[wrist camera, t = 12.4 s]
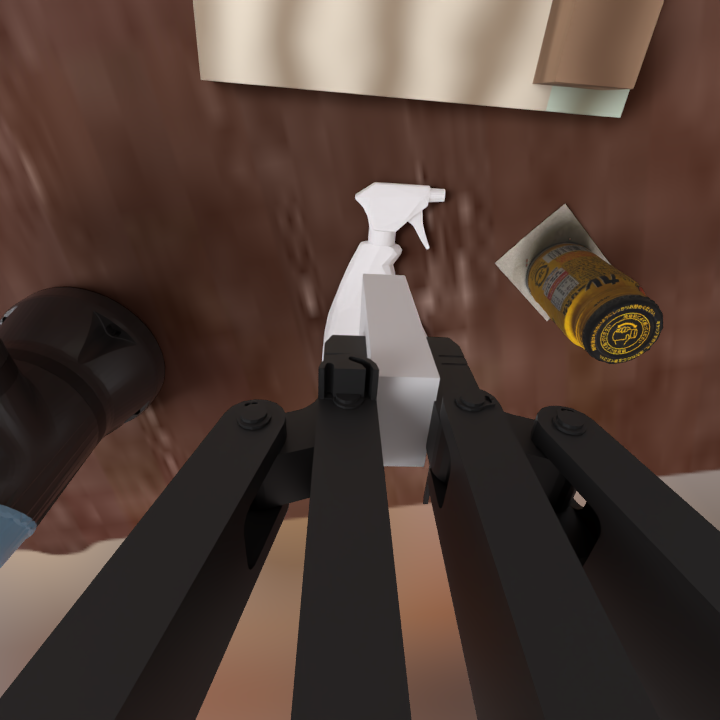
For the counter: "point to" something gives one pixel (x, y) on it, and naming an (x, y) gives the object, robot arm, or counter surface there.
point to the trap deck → (391, 50)
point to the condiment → (582, 290)
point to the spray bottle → (378, 246)
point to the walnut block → (596, 43)
